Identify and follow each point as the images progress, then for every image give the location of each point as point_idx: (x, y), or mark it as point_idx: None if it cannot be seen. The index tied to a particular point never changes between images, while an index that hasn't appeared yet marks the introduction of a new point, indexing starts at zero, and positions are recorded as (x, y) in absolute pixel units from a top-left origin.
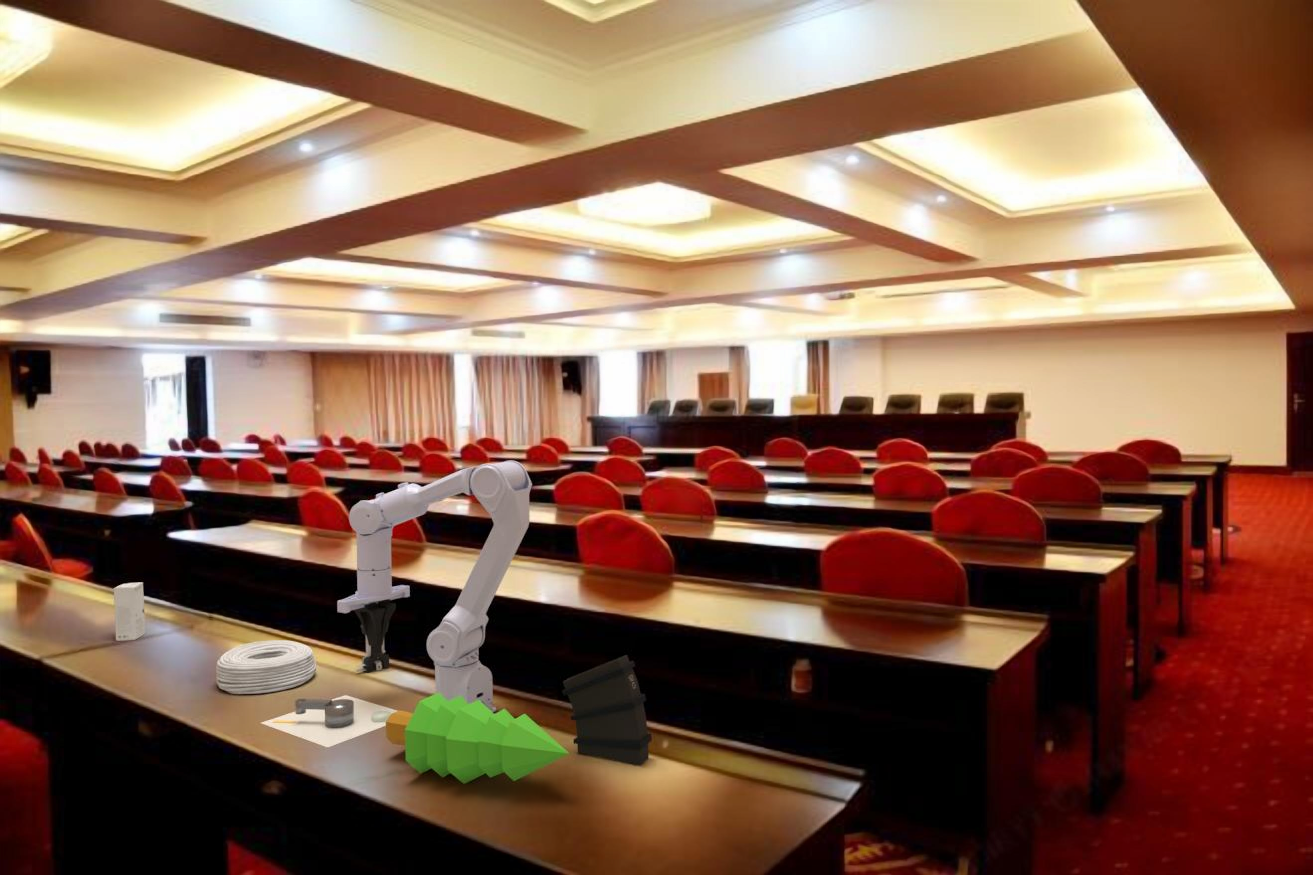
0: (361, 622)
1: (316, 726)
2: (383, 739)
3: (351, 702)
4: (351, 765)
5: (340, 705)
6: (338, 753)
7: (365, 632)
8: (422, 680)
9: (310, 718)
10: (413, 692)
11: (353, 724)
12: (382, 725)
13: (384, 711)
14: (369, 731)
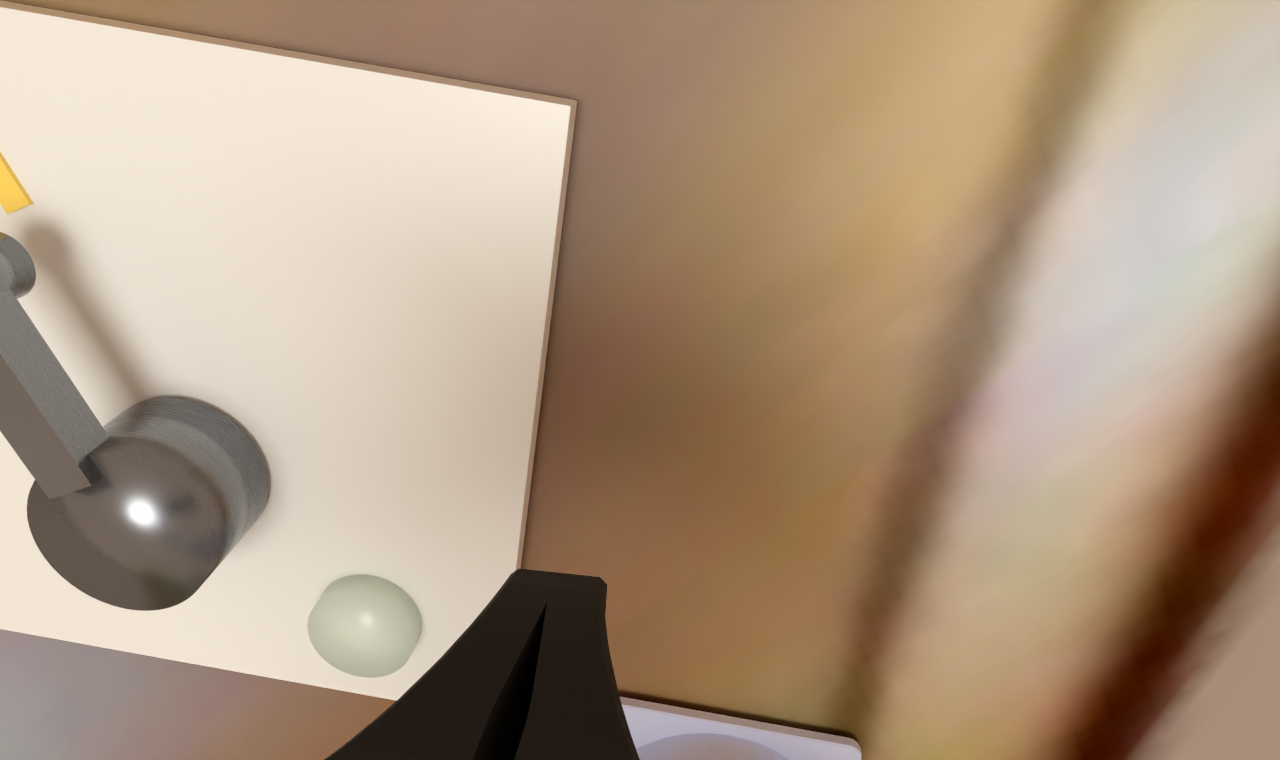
0: (333, 755)
1: (78, 386)
2: (264, 704)
3: (183, 584)
4: (14, 749)
5: (106, 562)
6: (40, 637)
7: (443, 656)
8: (1193, 317)
9: (125, 248)
10: (914, 426)
11: None
12: (310, 674)
13: (399, 626)
14: (220, 667)
